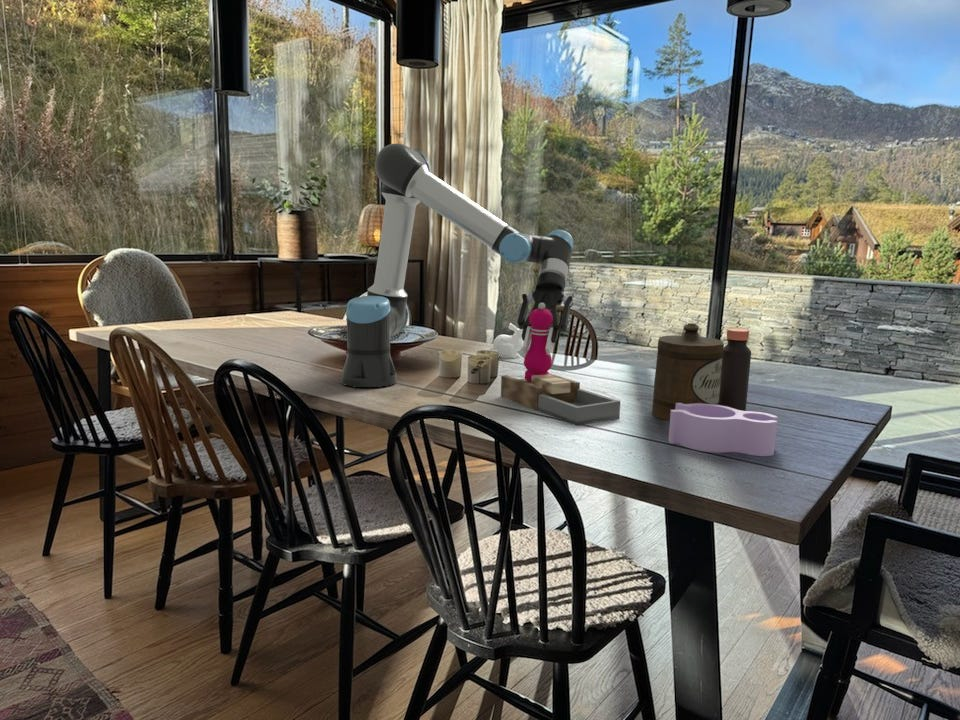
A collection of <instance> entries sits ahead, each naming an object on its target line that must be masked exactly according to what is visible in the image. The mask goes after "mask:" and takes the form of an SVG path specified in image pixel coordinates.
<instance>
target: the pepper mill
mask: <svg viewBox="0 0 960 720" xmlns="http://www.w3.org/2000/svg"><path fill="white" fill-rule="evenodd" d="M538 308H539V309H535V310H533V311H532V312H531V311H530V312H531V314H530V313H529V314H530V316H529V315H528V316H529V322H530V324H531V325H532V327H531V328H530V329H531V331H530V333H531V334H532V335H531V340H530V344H529V348H528V352H527V353H525V356H524V360H523V365H524V368H526V371H525V370H524V379H526V380H527V381H530V382H531V380H532V376H533V375H546V374H549V373H550V372H549V371H550V370H551V368H552V365H553V359H552V356H551V354H550V355H547V353H546V349H545V348H546V344H547V339H548V334H549V330H550V328H551V327H550V326H551V325H553V316H552V311H549V309H544V308H545V304H544V303H540V304H539V305H538Z"/></svg>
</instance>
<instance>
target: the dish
mask: <svg viewBox="0 0 960 720" xmlns="http://www.w3.org/2000/svg"><path fill="white" fill-rule="evenodd" d="M537 411H538V412H540V413H543V414H545V415H548V416H551V417H553V418H556V419H559V420H560V421H563V422H566V423H569V424H572V425H574V426H582V425H586V424H593V423H597V422H603V421H610V420H616V419H620V414H621V401H620V400H618V399H615V398H612V397H609V396H606V395H602V394H599V393H596V392H592V391H589V390H585V389H583V388H580V389H577V398H576V402H572V403H567V402H564V401H561V400H559V399H556V398H553V397H550V396H547V395H544V394H539V398H538V410H537Z"/></svg>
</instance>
